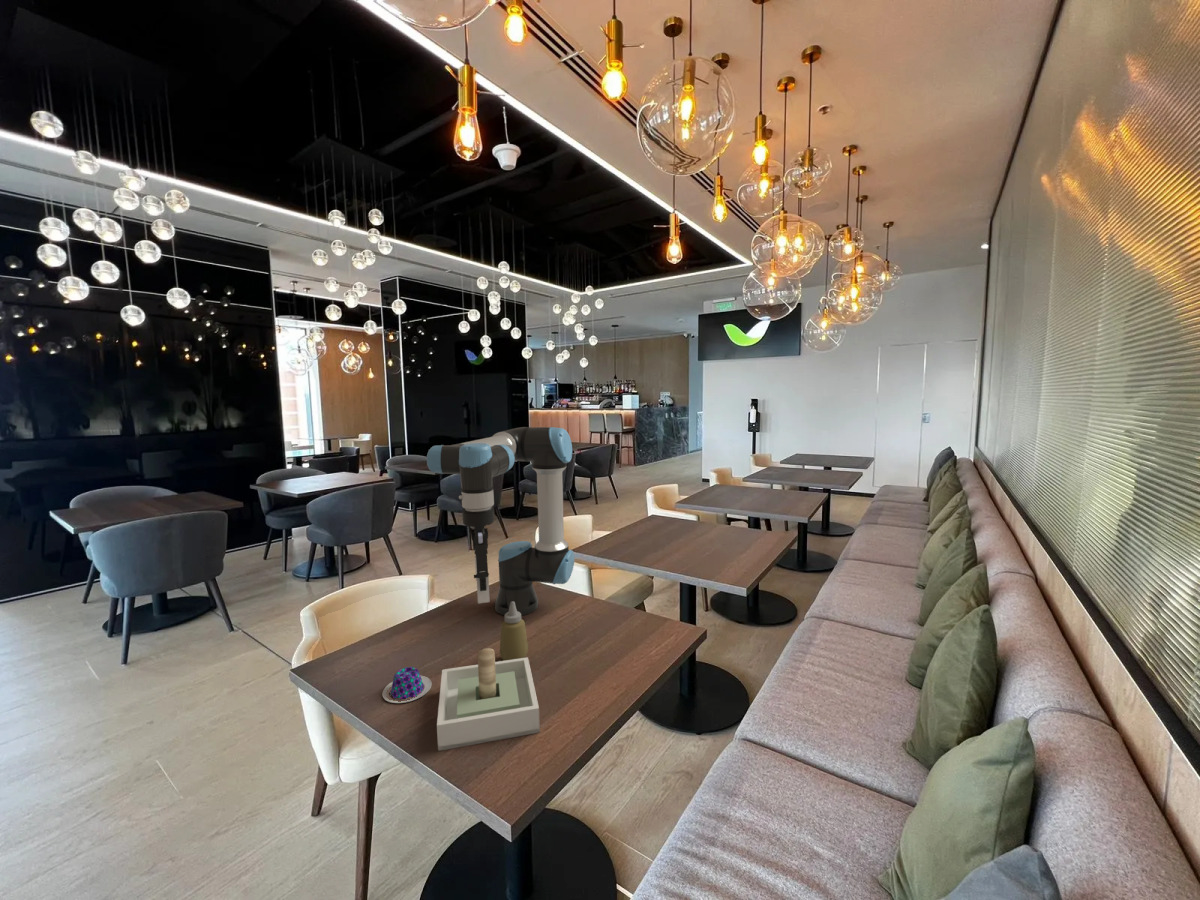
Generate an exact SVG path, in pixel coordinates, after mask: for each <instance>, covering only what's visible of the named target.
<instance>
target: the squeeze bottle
mask: <svg viewBox="0 0 1200 900" xmlns="http://www.w3.org/2000/svg"><path fill="white" fill-rule="evenodd" d="M499 640H500V641H499V653H500V656H501V659H502V661H506V660H513V659H519V658H526V657H527V654H528V652H529V644H528V638H527V630H526V623H525V620H524V619H522V615H521V613H520V612H518V611H517V609H516V606H515V602H514V601H512V602H510V607H509V612H507V613H506V614H505V615H504V620H503V621H502V623H501V625H500V639H499Z"/></svg>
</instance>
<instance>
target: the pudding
mask: <svg viewBox="0 0 1200 900" xmlns="http://www.w3.org/2000/svg"><path fill="white" fill-rule="evenodd" d="M390 687H392V688H391V692H390V695H391V694H392V695H391V696H393V698H395V700H397V699H396V698H400V699H405V700H407V699H406V698H408V697H413V698H412V699H411V698H408V699H410V700H407V701H401V702H398V701H393V700H389V699H388V698H387V697H386V696H387V695H386V692H387V690H389V688H390ZM431 687H432V680H431V679H430V678H429V677H427V676H424V675H421V673H420V671H419V669H418V668H415V667H414V666H410V667H403V668H402V669H401V668H400V669H399V670H397V671H396V673H395V674H394V676H393V680H392V681H391V682H390V683H388V684H387V685H386V686H385V688H384V689H382V697H383V699H384V700H385V701H387V702H388V703H393V704H403V703H409V702H412V701H416V700H417V699H419V698H420V699H421V697H424V696H425V695H426V694H427V693H428V692H429V691H430V690H431ZM416 696H417V697H416ZM414 697H415V698H414ZM400 699H399V700H400Z"/></svg>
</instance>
